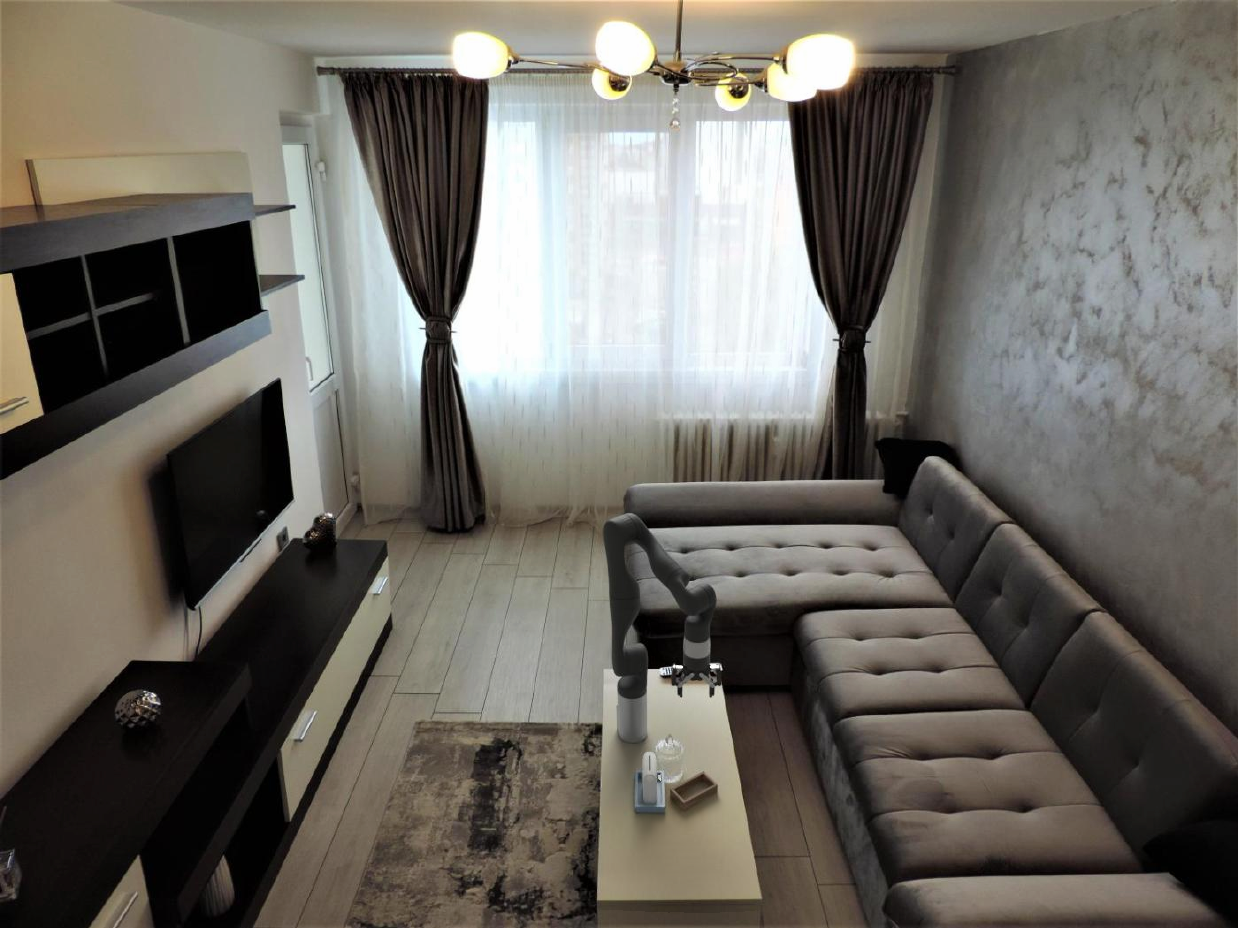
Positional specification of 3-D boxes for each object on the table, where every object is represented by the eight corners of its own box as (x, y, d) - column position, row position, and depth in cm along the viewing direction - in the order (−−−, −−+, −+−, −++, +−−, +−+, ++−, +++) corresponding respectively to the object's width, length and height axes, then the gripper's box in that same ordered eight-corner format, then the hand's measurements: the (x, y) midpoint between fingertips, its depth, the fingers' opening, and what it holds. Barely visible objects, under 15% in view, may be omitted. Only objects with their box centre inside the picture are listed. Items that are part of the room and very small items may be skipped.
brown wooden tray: (670, 796, 253) (670, 788, 252) (703, 778, 259) (703, 770, 258) (683, 810, 248) (684, 803, 247) (717, 792, 254) (717, 784, 253)
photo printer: (642, 780, 258) (642, 747, 253) (656, 780, 258) (656, 747, 253) (642, 806, 249) (642, 773, 244) (657, 806, 249) (657, 773, 244)
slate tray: (635, 776, 260) (635, 770, 259) (663, 776, 260) (663, 770, 259) (634, 813, 247) (634, 806, 246) (665, 813, 247) (665, 806, 246)
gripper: (671, 657, 241) (671, 704, 248) (723, 657, 241) (721, 704, 247) (671, 641, 248) (670, 687, 254) (721, 641, 247) (719, 687, 254)
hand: (695, 695), depth 251 cm, fingers open, 8 cm apart
